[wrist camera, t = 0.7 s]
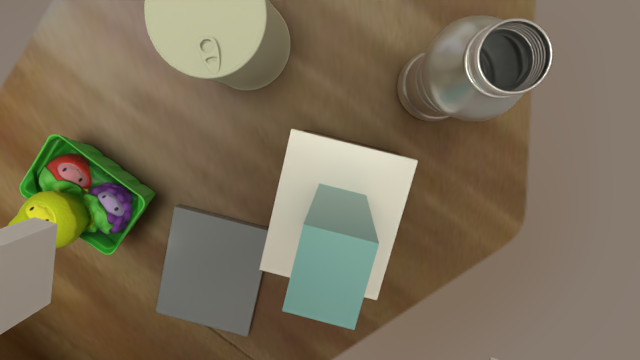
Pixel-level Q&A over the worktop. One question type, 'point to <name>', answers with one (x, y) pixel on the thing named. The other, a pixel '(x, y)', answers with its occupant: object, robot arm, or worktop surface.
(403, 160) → the lid
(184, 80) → the worktop surface
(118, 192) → the fruit basket
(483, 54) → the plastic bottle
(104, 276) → the worktop surface
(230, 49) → the can
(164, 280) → the plate
